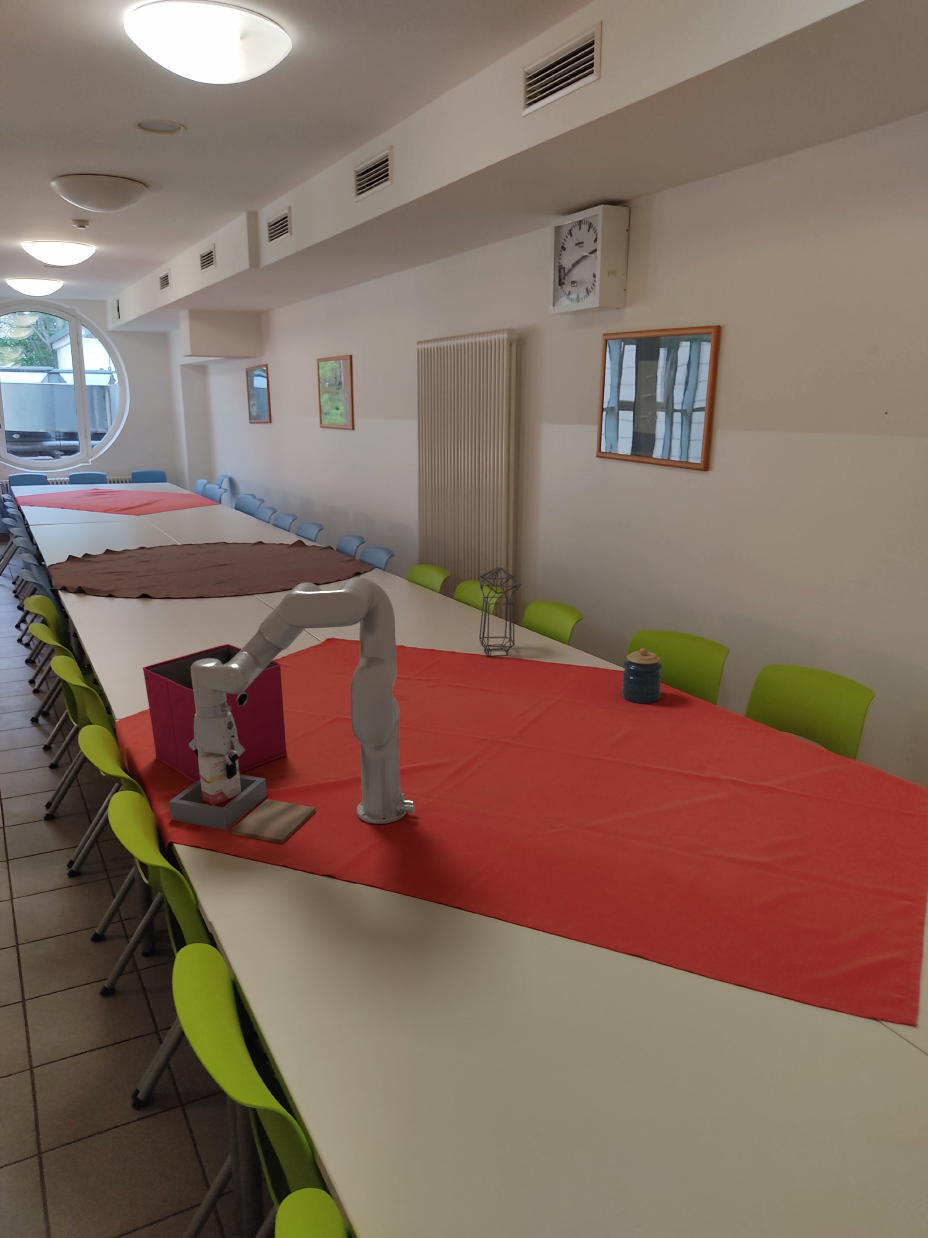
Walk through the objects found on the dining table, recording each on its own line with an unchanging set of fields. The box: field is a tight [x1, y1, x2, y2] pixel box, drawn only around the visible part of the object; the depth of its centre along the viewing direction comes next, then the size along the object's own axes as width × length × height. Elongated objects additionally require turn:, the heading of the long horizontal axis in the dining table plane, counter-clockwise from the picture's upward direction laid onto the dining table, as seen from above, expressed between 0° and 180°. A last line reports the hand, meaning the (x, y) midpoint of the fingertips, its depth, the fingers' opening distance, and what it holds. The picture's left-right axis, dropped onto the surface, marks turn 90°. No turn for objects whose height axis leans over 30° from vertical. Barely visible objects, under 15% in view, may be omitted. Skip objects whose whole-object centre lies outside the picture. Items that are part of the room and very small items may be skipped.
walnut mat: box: [230, 798, 316, 845], centre depth 202 cm, size 14×16×1 cm
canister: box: [621, 647, 663, 704], centre depth 279 cm, size 13×13×18 cm
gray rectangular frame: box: [168, 774, 268, 831], centre depth 208 cm, size 16×18×5 cm
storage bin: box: [142, 643, 288, 784], centre depth 233 cm, size 28×29×28 cm
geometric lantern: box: [476, 566, 522, 657], centre depth 323 cm, size 16×16×35 cm
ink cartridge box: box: [198, 746, 241, 806], centre depth 206 cm, size 9×5×15 cm, turn 141°
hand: (219, 774), depth 206 cm, fingers closed on ink cartridge box, 6 cm apart
